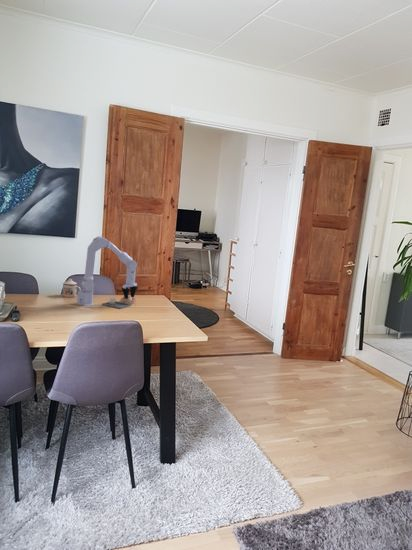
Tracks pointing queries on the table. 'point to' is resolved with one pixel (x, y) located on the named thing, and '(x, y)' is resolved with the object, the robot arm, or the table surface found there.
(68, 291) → the teacup with lid
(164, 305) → the table surface
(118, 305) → the parts tray
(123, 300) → the bowl
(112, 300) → the stone pebble near
